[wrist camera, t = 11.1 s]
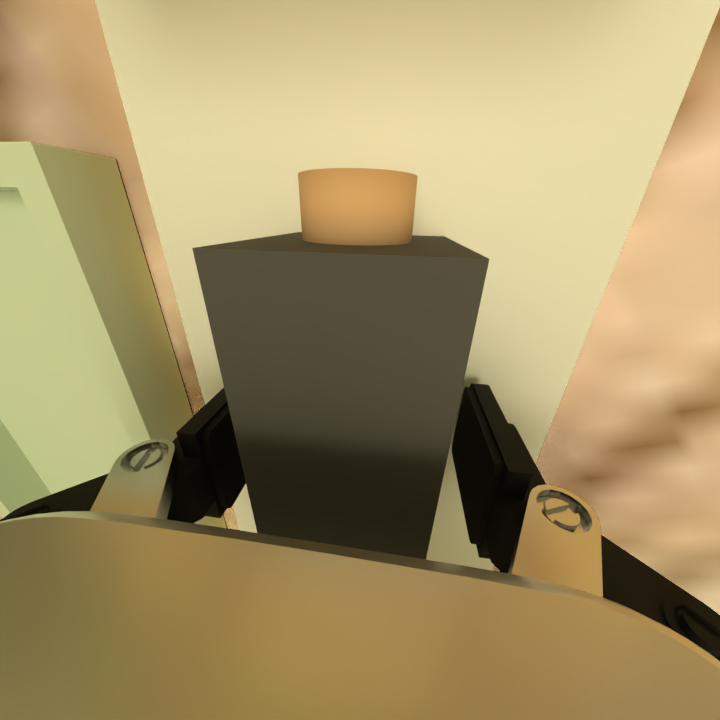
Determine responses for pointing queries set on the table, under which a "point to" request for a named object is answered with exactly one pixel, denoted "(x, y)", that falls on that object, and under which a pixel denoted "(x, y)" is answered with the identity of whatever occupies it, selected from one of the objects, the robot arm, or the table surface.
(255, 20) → the board
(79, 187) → the tray
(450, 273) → the dark grey block
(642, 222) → the table surface
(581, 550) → the robot arm
